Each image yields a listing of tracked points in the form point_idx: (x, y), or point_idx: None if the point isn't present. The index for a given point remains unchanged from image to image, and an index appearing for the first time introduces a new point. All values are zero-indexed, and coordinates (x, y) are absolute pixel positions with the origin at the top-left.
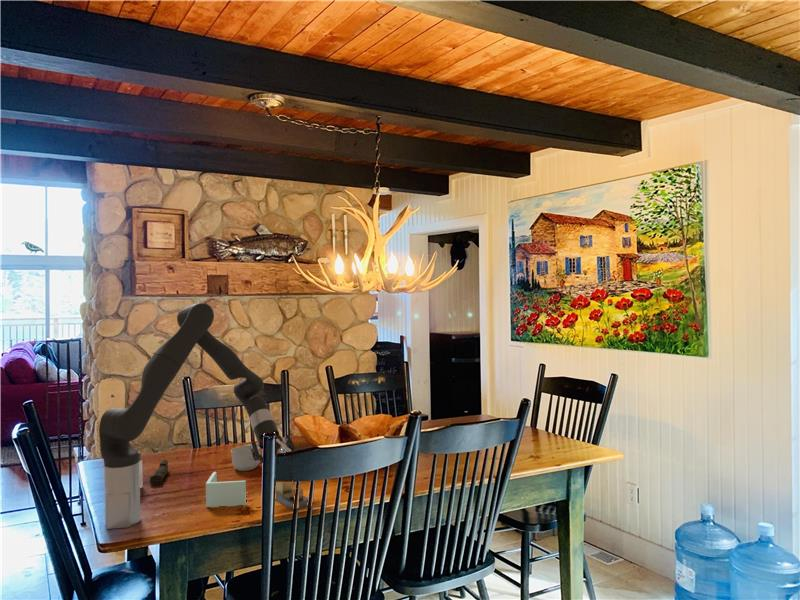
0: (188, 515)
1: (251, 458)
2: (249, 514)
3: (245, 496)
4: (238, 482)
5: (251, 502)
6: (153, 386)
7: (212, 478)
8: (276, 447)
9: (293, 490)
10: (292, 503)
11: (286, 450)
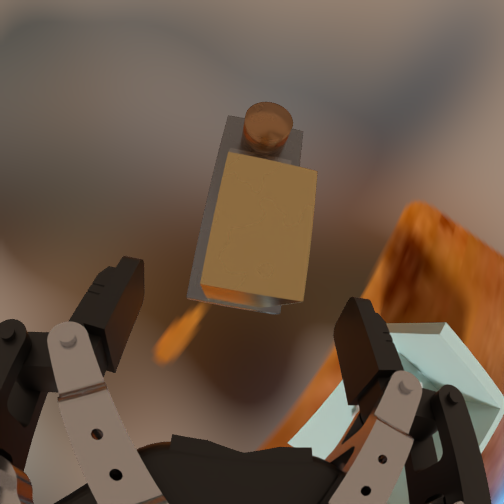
0: (491, 362)
1: None
2: (410, 234)
3: (403, 323)
4: (458, 341)
5: None
6: None
7: None
8: (209, 456)
9: (287, 129)
10: (302, 132)
11: (96, 363)
